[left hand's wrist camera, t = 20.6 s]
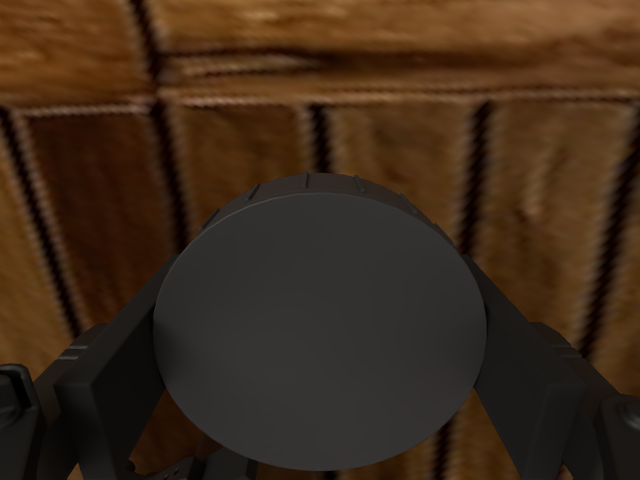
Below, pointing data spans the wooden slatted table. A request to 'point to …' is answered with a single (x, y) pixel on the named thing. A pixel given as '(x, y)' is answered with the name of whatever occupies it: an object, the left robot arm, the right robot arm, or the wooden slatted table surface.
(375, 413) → the lid
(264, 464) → the jar
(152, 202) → the wooden slatted table surface
